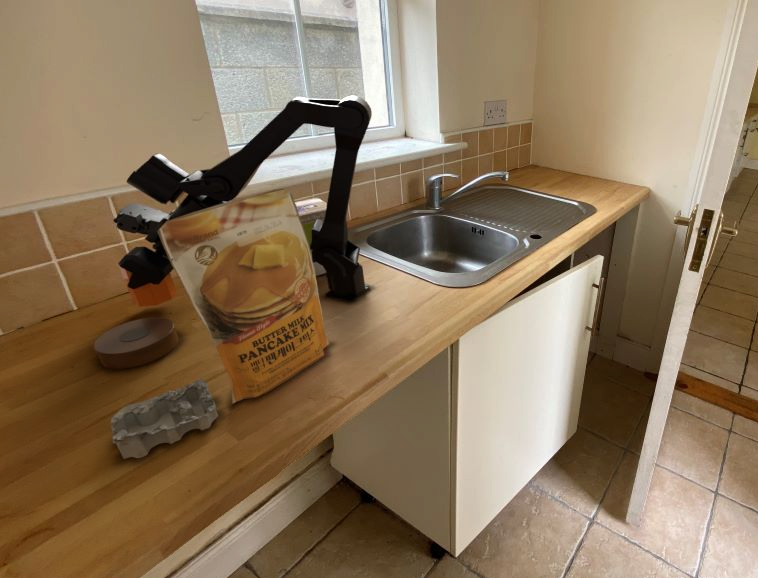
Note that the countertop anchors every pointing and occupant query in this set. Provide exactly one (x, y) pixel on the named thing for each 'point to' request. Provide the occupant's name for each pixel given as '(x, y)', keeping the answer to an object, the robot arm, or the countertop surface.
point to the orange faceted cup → (151, 291)
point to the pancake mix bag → (251, 287)
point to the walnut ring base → (136, 343)
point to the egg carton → (163, 419)
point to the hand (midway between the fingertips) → (139, 279)
